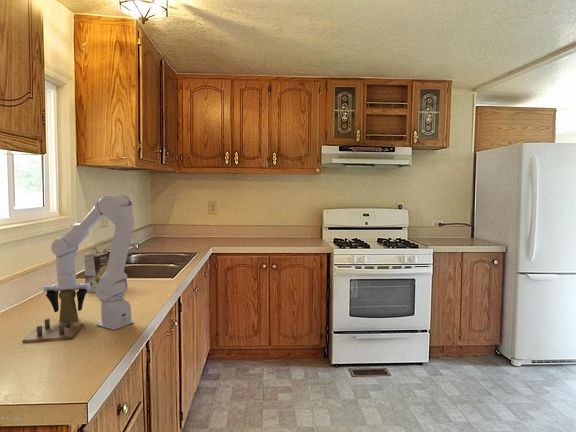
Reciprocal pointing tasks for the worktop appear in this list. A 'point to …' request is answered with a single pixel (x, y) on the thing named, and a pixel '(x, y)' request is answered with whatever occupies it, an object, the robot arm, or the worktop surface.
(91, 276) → the coffee box
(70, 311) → the cork
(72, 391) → the worktop surface
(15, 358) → the worktop surface
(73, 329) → the pin tray
